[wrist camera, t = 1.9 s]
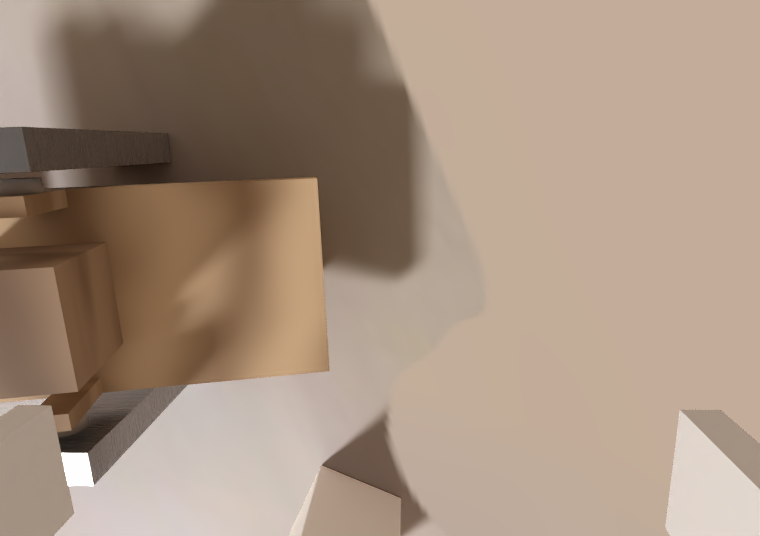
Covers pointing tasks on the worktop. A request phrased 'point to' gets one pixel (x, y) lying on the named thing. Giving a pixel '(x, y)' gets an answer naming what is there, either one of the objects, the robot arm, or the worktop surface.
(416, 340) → the worktop surface
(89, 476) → the fulcrum
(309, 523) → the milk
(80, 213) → the tan piece
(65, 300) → the block
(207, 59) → the worktop surface
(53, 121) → the worktop surface
